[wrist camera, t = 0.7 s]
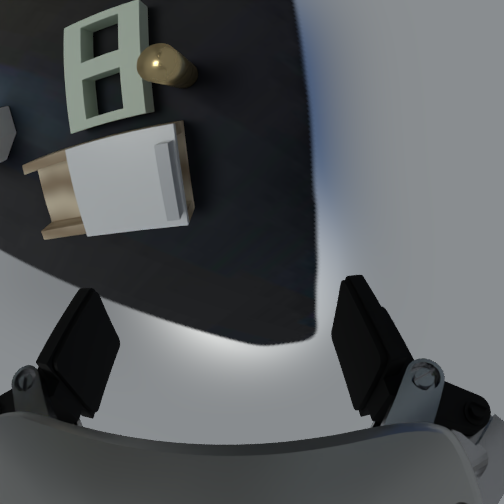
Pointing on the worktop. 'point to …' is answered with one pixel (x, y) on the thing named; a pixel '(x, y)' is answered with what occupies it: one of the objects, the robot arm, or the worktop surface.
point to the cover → (129, 181)
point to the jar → (6, 132)
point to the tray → (62, 192)
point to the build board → (106, 66)
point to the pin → (166, 66)
